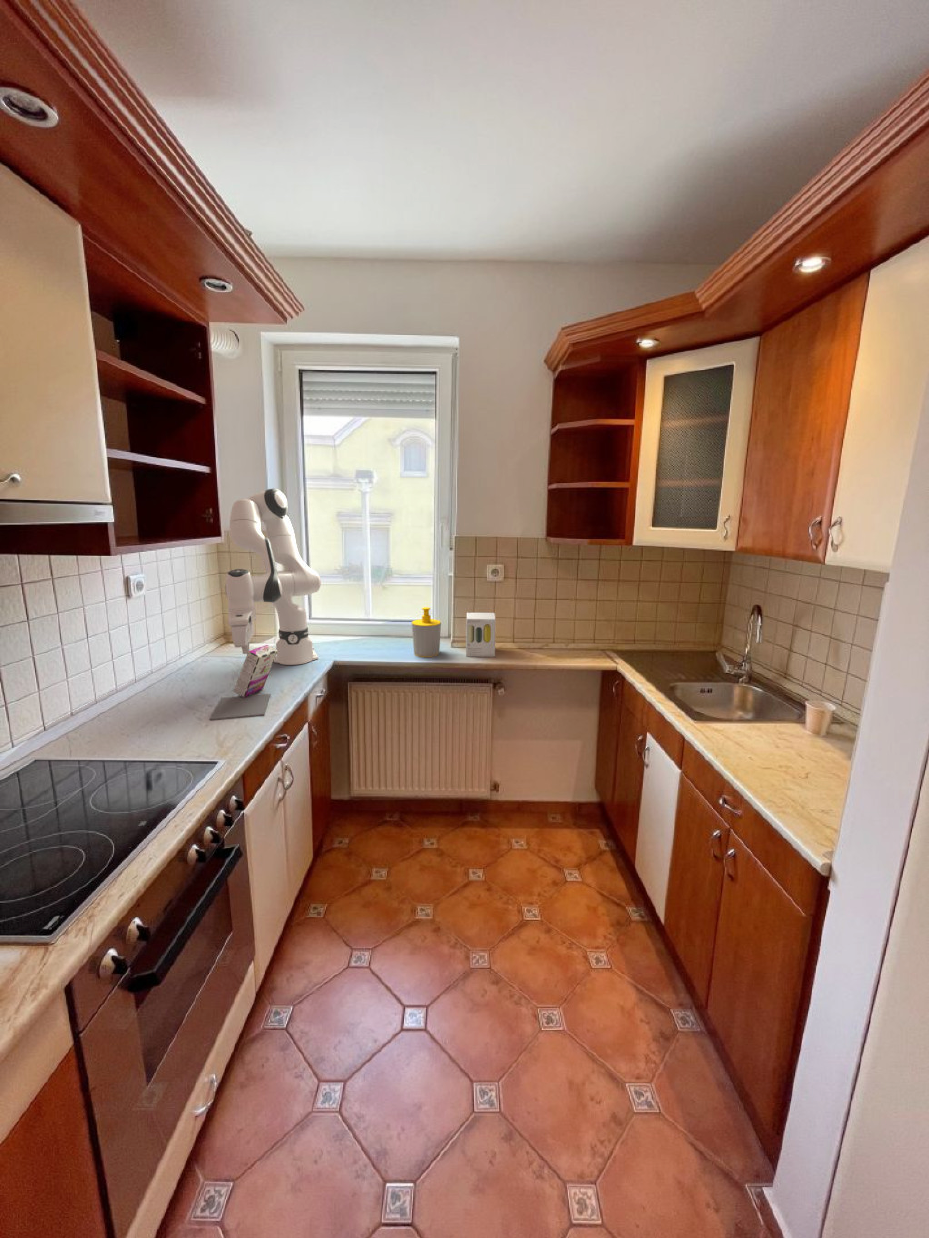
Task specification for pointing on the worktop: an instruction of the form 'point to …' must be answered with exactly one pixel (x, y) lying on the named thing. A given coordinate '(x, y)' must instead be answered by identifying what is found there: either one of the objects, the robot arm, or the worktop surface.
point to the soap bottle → (426, 635)
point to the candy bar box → (255, 670)
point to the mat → (241, 707)
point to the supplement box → (480, 634)
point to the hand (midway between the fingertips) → (246, 652)
